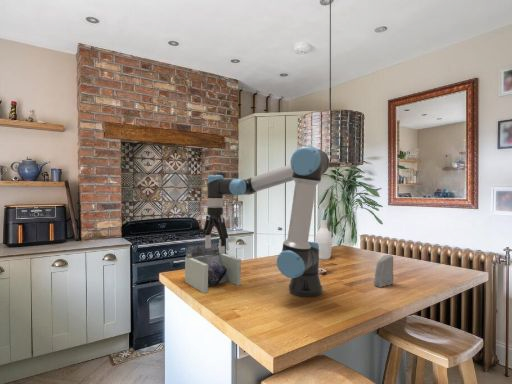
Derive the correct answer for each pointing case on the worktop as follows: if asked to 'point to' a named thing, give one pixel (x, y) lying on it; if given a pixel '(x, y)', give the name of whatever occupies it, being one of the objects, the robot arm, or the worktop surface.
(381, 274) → the decorative stone
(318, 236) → the bottle
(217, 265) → the rock
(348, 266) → the worktop surface
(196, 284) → the frame
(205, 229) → the robot arm
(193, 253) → the trapdoor
